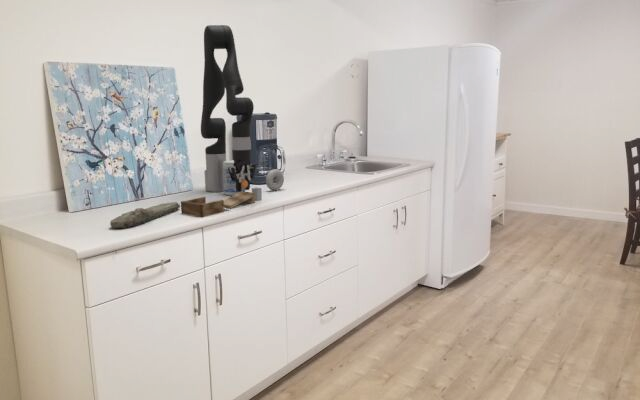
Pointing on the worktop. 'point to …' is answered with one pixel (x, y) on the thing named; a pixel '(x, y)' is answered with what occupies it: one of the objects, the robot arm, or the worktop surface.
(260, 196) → the hollow grey box
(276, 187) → the donut
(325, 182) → the worktop surface
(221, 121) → the robot arm
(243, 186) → the ball
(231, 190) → the supplement tub
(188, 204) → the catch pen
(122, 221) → the long grey stone
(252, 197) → the ramp
